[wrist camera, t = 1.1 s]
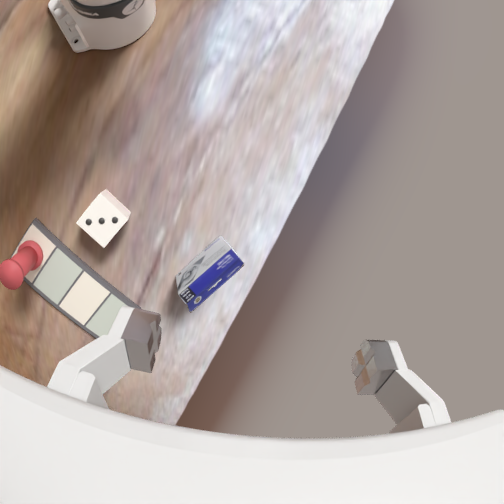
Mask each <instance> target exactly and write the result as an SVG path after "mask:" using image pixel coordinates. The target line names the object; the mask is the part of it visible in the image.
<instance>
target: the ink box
mask: <svg viewBox="0 0 504 504" xmlns="http://www.w3.org/2000/svg"><path fill="white" fill-rule="evenodd" d="M243 266H244V263H243V262H242V261H241V259H240V257H239V256H238V254H237V253H236V251H235V250H234V249H233V248H232V247H231V246H230V244H229V243H228V242H227V241H226V240H225V239H224V238H223V237H222V236H219V237H218V238H217V239H215V240H214V241H213V242H212V243H211V244H210V245H209V246H208V247H206V248H205V249H204V250H203V251H202V252H201V253H200V254H199V255H198V256H197V257H196V258H195V259H193V260H192V261H191V262H190V263H189V264H188V265H187V266H186V267H185V268H183V269H182V270H181V271H180V272H179V273H178V274H177V275H176V283H177V290H178V295H179V297H180V298H181V299H182V301H183V302H184V303H185V304H187V305H188V308H189V311H190V313H192V311H194V310H195V309H196V308H197V307H198V306H199V305H200V304H201V303H202V302H203V301H205V300H206V299H207V298H208V297H209V296H210V295H211V294H213V293H214V292H215V291H216V290H217V289H219V288H220V287H221V286H222V285H223V284H224V283H225V282H226V281H227V280H229V279H230V278H231V277H232V276H233V275H234V274H235V273H236V272H238V271H239V270H240V269H241V268H242V267H243ZM220 279H222V280H221V281H220V282H218V284H217V285H216V286H215V287H213V288H212V289H211V290H209V291H208V289H210V288H211V287H212V286H213V285H214V284H215V283H216V282H217V281H219V280H220Z"/></svg>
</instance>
